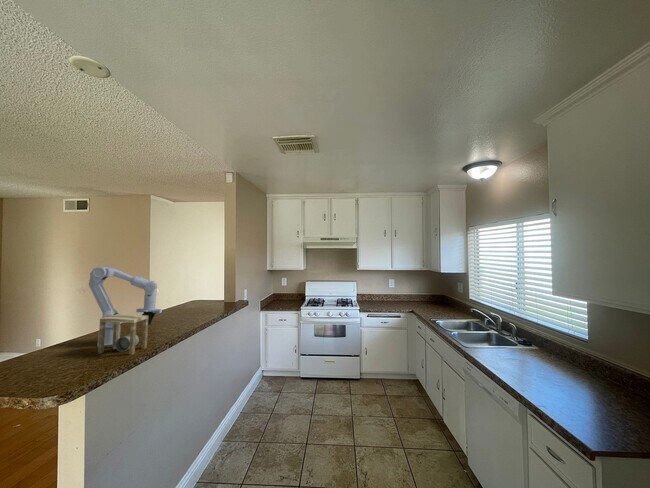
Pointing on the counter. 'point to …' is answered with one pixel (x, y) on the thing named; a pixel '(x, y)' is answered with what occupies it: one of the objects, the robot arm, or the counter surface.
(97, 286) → the robot arm
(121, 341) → the ceramic mug
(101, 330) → the counter shelf
